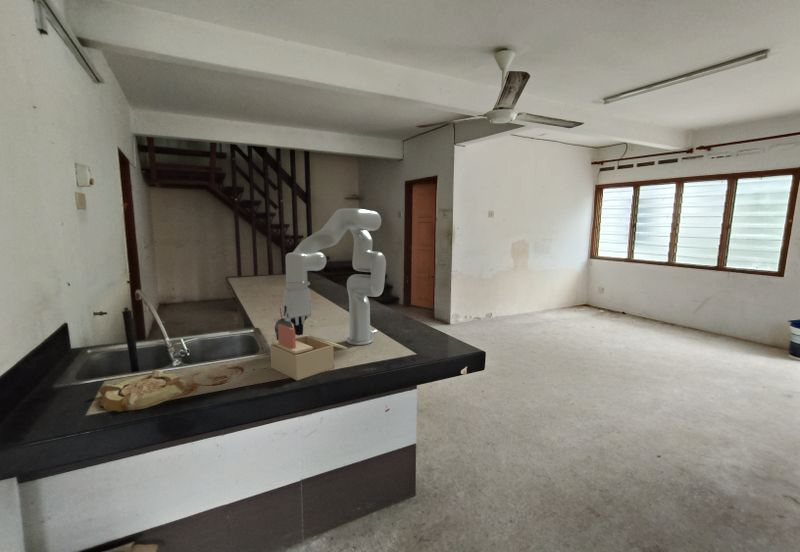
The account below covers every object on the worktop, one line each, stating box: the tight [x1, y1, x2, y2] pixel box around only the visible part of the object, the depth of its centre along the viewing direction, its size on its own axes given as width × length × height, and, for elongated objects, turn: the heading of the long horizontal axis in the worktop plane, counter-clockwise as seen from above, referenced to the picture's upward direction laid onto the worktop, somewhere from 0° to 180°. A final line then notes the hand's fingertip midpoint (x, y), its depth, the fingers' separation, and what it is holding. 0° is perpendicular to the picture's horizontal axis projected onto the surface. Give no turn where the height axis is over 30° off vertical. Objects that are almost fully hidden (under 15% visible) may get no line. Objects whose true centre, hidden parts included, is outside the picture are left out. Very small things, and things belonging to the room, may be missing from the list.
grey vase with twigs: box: [274, 307, 294, 340], centre depth 156 cm, size 7×7×20 cm
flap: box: [271, 324, 313, 354], centre depth 138 cm, size 7×17×8 cm, turn 47°
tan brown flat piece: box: [98, 369, 188, 412], centre depth 121 cm, size 24×24×5 cm
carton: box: [269, 335, 335, 381], centre depth 143 cm, size 16×18×9 cm
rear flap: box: [308, 335, 348, 350], centre depth 151 cm, size 7×17×1 cm, turn 47°
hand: (298, 334), depth 141 cm, fingers closed
